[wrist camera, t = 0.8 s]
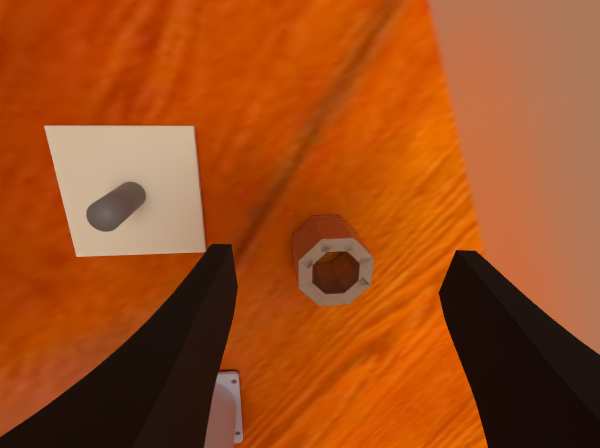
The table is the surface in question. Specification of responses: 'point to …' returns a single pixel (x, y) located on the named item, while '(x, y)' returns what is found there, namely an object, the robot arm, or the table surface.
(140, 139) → the post stand
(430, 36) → the table surface
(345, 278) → the collar
